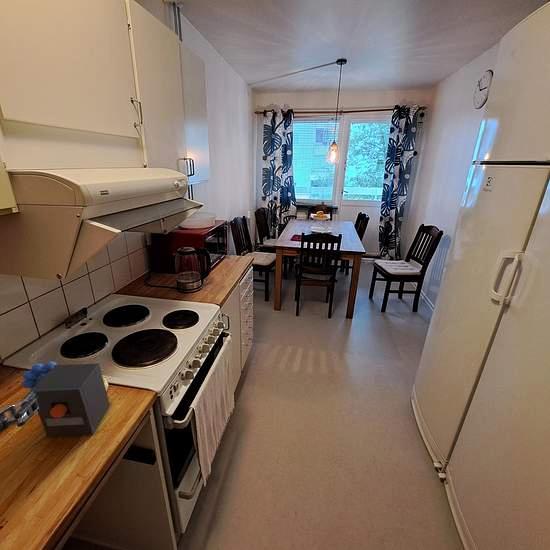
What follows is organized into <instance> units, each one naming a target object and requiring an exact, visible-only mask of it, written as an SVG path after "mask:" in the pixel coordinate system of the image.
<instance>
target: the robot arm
mask: <svg viewBox="0 0 550 550" xmlns="http://www.w3.org/2000/svg"><path fill="white" fill-rule="evenodd" d="M18 408H19V409H18ZM17 409H18V410H17ZM38 410H39V406H38V403H37V396H36V393H34V392H33V391H32V392H30V391H29V392H28V393H26V394H25V396H24V397H22V399H21V400H20V401H18V402H16V403H15V404H8V405H6V406H5V407H4V406H3V408H1V409H0V434H1V433H3V432H4V431H5V430H7V429H8V428H9V427H10V426H13V425H17V428H21V427H24V426H26V424H28V423H29V421H30V420H31V419H32V418H33V416H35V414H36V413H38V412H37V411H38ZM6 412H7V413H8V415H9V418H8V416H7V415H6V414H5V413H6Z"/></svg>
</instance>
